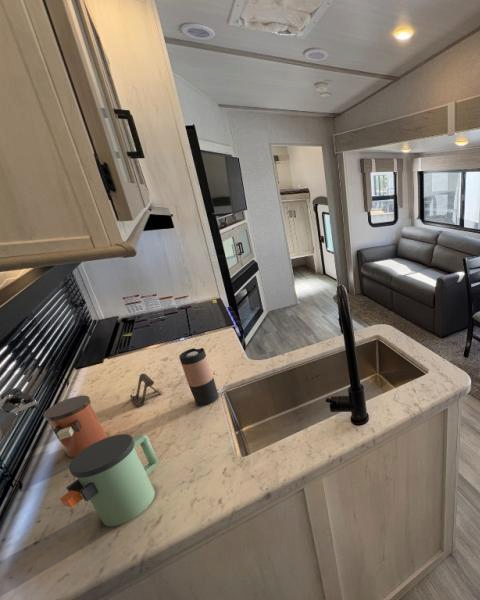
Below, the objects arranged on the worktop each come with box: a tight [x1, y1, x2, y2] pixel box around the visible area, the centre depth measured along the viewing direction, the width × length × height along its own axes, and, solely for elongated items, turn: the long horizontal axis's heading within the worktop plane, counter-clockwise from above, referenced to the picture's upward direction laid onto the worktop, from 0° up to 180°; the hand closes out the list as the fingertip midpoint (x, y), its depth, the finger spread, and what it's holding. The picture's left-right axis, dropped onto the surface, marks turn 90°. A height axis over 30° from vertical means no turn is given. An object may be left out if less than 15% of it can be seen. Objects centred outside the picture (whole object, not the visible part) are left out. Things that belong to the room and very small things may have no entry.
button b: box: [57, 427, 74, 440], centre depth 86 cm, size 2×2×2 cm
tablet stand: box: [129, 373, 162, 408], centre depth 115 cm, size 9×8×8 cm
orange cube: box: [59, 490, 84, 508], centre depth 64 cm, size 2×2×2 cm
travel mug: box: [178, 347, 219, 407], centre depth 110 cm, size 8×8×20 cm
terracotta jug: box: [42, 395, 108, 458], centre depth 93 cm, size 14×10×15 cm
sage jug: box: [65, 433, 159, 527], centre depth 73 cm, size 16×11×17 cm
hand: (15, 391), depth 72 cm, fingers closed
